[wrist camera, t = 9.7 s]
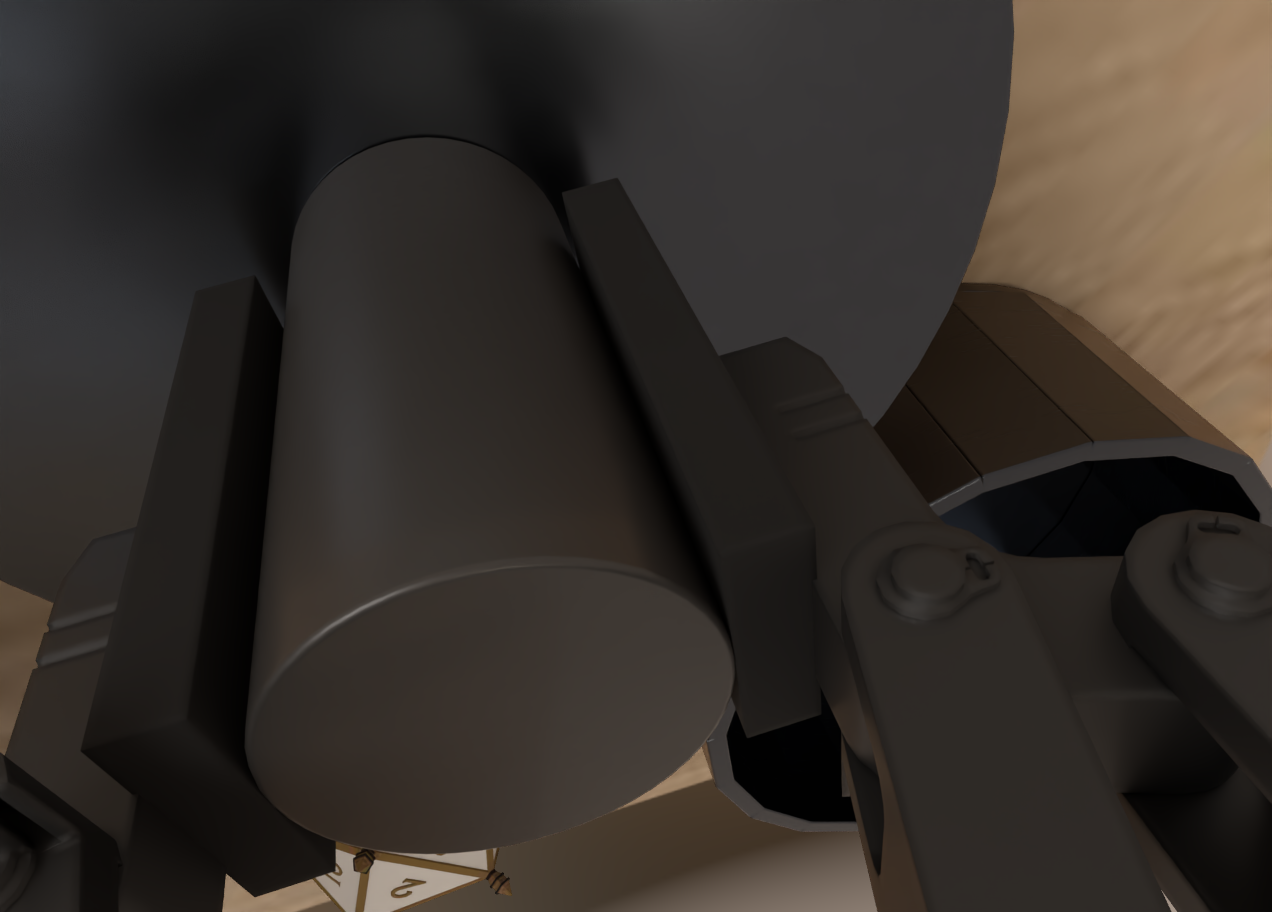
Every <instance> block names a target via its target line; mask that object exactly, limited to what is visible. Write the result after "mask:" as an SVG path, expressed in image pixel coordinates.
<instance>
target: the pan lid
mask: <svg viewBox="0 0 1272 912" xmlns="http://www.w3.org/2000/svg"><path fill="white" fill-rule="evenodd" d="M1013 40H1014V22H1013V3H1012V0H0V580H2V581H4V582H5V583H7V584H9V585H12V586H14V587H17V588H19V589H21V590H24V591H26V592H29V593H31V594H33V595H36V596H38V597H41V598H43V599H45V600H48V601H50V602H53V603H54V601H55V598H56V595H57V592H58V589H59V586H60V583H61V581H62V580H63V578H64V577H65V576H66V574H67V573H68V572H69V570H70V569H71V568H72V566H73V565H74V564H75V562H76V561H77V560H78V558H79V557H80V555H81V554H82V553H83V551H84V550H85V549H86V547H87V546H88V545H89V543H90V542H91V541H92V539H95V538H99V537H102V536H106V535H109V534H113V533H116V532H120V531H123V530H127V529H130V528H134V527H137V523H138V519H139V515H140V511H141V507H142V503H143V499H144V495H145V491H146V487H147V483H148V479H149V475H150V471H151V467H152V463H153V459H154V455H155V451H156V447H157V443H158V439H159V435H160V431H161V427H162V423H163V419H164V415H165V411H166V407H167V403H168V399H169V395H170V391H171V387H172V383H173V379H174V375H175V371H176V367H177V363H178V359H179V355H180V351H181V347H182V343H183V339H184V335H185V331H186V327H187V323H188V319H189V315H190V311H191V307H192V303H193V299H194V295H195V291H198V290H202V289H205V288H209V287H213V286H216V285H220V284H224V283H228V282H231V281H235V280H239V279H242V278H246V277H250V276H254V275H255V276H256V278H257V280H258V281H259V283H260V285H261V287H262V289H263V291H264V293H265V295H266V297H267V299H268V300H269V302H270V304H271V306H272V308H273V310H274V312H275V314H276V316H277V317H278V319H279V321H280V323H281V325H282V327H283V329H284V330H283V341H282V351H281V361H280V372H279V382H278V393H277V403H276V413H275V424H274V434H273V444H272V455H271V465H270V475H269V486H268V496H267V507H266V517H265V527H264V538H263V548H262V558H261V569H260V579H259V589H258V600H257V610H256V621H255V631H254V641H253V652H252V662H251V672H250V683H249V693H248V704H247V714H246V724H245V745H244V748H245V752H246V757H247V762H248V767H249V769H250V771H251V773H252V775H253V777H254V779H255V781H256V783H257V786H258V788H259V789H260V791H261V792H262V793H263V794H264V796H265V797H266V798H267V799H268V801H269V802H270V803H271V804H272V805H273V806H274V807H275V808H276V809H277V810H279V811H280V812H281V813H282V814H283V815H284V816H286V817H287V818H288V819H290V820H292V821H293V822H295V823H296V824H298V825H300V826H301V827H303V828H305V829H307V830H309V831H311V832H313V833H316V834H318V835H320V836H323V837H325V838H327V839H331V840H334V841H337V842H340V843H344V844H347V845H350V846H355V847H360V848H365V849H370V850H376V851H384V852H393V853H405V854H451V853H463V852H473V851H482V850H488V849H494V848H500V847H506V846H511V845H515V844H520V843H524V842H529V841H533V840H536V839H540V838H544V837H547V836H550V835H554V834H557V833H560V832H563V831H566V830H569V829H572V828H574V827H577V826H580V825H583V824H585V823H588V822H590V821H592V820H595V819H597V818H599V817H601V816H604V815H606V814H608V813H610V812H612V811H614V810H616V809H618V808H620V807H622V806H624V805H626V804H628V803H630V802H632V801H633V800H635V799H637V798H638V797H640V796H641V795H643V794H645V793H646V792H648V791H650V790H651V789H653V788H654V787H656V786H657V785H658V784H660V783H661V782H662V781H664V780H665V779H667V778H668V777H669V776H671V775H672V774H673V773H674V772H676V771H677V770H678V769H679V768H680V767H681V766H682V765H684V764H685V763H686V762H687V761H688V760H689V759H690V758H691V757H692V756H693V755H694V754H695V753H696V752H697V751H698V750H699V749H700V748H701V747H702V746H703V744H704V743H705V742H706V741H707V739H708V738H709V737H710V735H711V734H712V733H713V731H714V730H715V729H716V727H717V725H718V723H719V722H720V720H721V718H722V716H723V715H724V713H725V711H726V708H727V706H728V703H729V700H730V698H731V695H732V691H733V685H734V679H735V656H734V650H733V645H732V640H731V637H730V634H729V631H728V629H727V626H726V624H725V622H724V619H723V617H722V614H721V612H720V609H719V607H718V605H717V602H716V600H715V597H714V595H713V592H712V590H711V588H710V585H709V583H708V580H707V578H706V575H705V573H704V571H703V568H702V566H701V563H700V561H699V558H698V556H697V554H696V551H695V549H694V546H693V544H692V541H691V539H690V537H689V534H688V532H687V529H686V527H685V524H684V522H683V520H682V517H681V515H680V512H679V510H678V507H677V505H676V503H675V500H674V498H673V495H672V493H671V490H670V488H669V486H668V483H667V481H666V478H665V476H664V473H663V471H662V469H661V466H660V464H659V461H658V459H657V456H656V454H655V452H654V449H653V447H652V444H651V442H650V439H649V437H648V435H647V432H646V430H645V427H644V425H643V422H642V420H641V418H640V415H639V413H638V410H637V408H636V405H635V403H634V401H633V398H632V396H631V393H630V391H629V388H628V386H627V384H626V381H625V379H624V376H623V374H622V371H621V369H620V367H619V364H618V362H617V359H616V357H615V354H614V352H613V350H612V347H611V345H610V342H609V340H608V337H607V335H606V333H605V330H604V328H603V325H602V323H601V320H600V318H599V315H598V313H597V311H596V308H595V306H594V303H593V301H592V298H591V296H590V294H589V291H588V289H587V286H586V284H585V281H584V279H583V277H582V274H581V272H580V269H579V264H578V260H577V256H576V252H575V247H574V243H573V239H572V235H571V230H570V226H569V222H568V218H567V213H566V209H565V205H564V201H563V196H562V192H565V191H569V190H572V189H576V188H580V187H584V186H587V185H591V184H595V183H598V182H602V181H606V180H610V179H613V178H617V177H618V179H619V181H620V183H621V184H622V186H623V188H624V190H625V192H626V193H627V195H628V197H629V199H630V200H631V202H632V204H633V206H634V207H635V209H636V211H637V213H638V214H639V216H640V218H641V220H642V221H643V223H644V225H645V227H646V229H647V230H648V232H649V234H650V236H651V237H652V239H653V241H654V243H655V244H656V246H657V248H658V250H659V251H660V253H661V255H662V257H663V259H664V260H665V262H666V264H667V266H668V267H669V269H670V271H671V273H672V274H673V276H674V278H675V280H676V281H677V283H678V285H679V287H680V288H681V290H682V292H683V294H684V296H685V297H686V299H687V301H688V303H689V304H690V306H691V308H692V310H693V311H694V313H695V315H696V317H697V318H698V320H699V322H700V324H701V325H702V327H703V329H704V331H705V333H706V334H707V336H708V338H709V340H710V341H711V343H712V345H713V347H714V348H715V350H716V352H717V354H718V355H719V356H720V355H723V354H727V353H730V352H734V351H737V350H741V349H744V348H748V347H751V346H754V345H758V344H761V343H765V342H768V341H772V340H775V339H779V338H782V337H788V338H789V339H791V340H793V341H795V342H796V343H798V344H800V345H802V346H803V347H805V348H807V349H809V350H810V351H812V352H814V353H816V354H817V355H819V356H821V357H822V358H823V359H824V360H825V362H826V363H827V365H828V366H829V367H830V369H831V370H832V371H833V373H834V374H835V376H836V377H837V378H838V380H839V381H840V383H841V384H842V385H843V387H844V391H845V393H846V394H847V393H848V394H849V395H850V396H851V398H852V399H853V400H854V402H855V403H856V405H857V406H858V407H859V409H860V410H861V412H862V416H863V418H864V419H866V418H867V420H868V421H869V423H870V424H871V425H872V427H874V426H875V425H876V424H877V422H878V421H879V420H880V419H881V418H882V417H883V415H884V414H885V413H886V411H887V410H888V408H889V407H890V405H891V404H892V403H893V401H894V400H895V398H896V397H897V395H898V394H899V393H900V391H901V390H902V388H903V387H904V385H905V384H906V383H907V381H908V380H909V378H910V377H911V375H912V374H913V373H914V371H915V370H916V368H917V367H918V365H919V363H920V362H921V360H922V358H923V356H924V355H925V353H926V351H927V349H928V347H929V346H930V344H931V342H932V340H933V338H934V337H935V335H936V333H937V331H938V330H939V328H940V326H941V324H942V322H943V321H944V319H945V317H946V315H947V313H948V312H949V309H950V307H951V305H952V302H953V300H954V298H955V295H956V293H957V291H958V288H959V286H960V284H961V281H962V279H963V277H964V274H965V272H966V270H967V267H968V265H969V263H970V261H971V258H972V256H973V254H974V251H975V248H976V245H977V241H978V238H979V235H980V232H981V228H982V225H983V222H984V219H985V215H986V212H987V209H988V206H989V202H990V199H991V196H992V193H993V189H994V186H995V182H996V176H997V171H998V166H999V160H1000V155H1001V150H1002V144H1003V139H1004V134H1005V128H1006V123H1007V118H1008V112H1009V99H1010V84H1011V70H1012V55H1013Z"/></svg>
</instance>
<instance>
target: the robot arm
mask: <svg viewBox="0 0 1272 912" xmlns="http://www.w3.org/2000/svg"><path fill="white" fill-rule="evenodd" d="M562 196H563V201H564V205H565V209H566V213H567V218H568V222H569V226H570V230H571V235H572V239H573V243H574V247H575V252H576V256H577V260H578V264H579V269H580V272H581V274H582V277H583V279H584V281H585V284H586V286H587V289H588V291H589V294H590V296H591V298H592V301H593V303H594V306H595V308H596V311H597V313H598V315H599V318H600V320H601V323H602V325H603V328H604V330H605V333H606V335H607V337H608V340H609V342H610V345H611V347H612V350H613V352H614V354H615V357H616V359H617V362H618V364H619V367H620V369H621V371H622V374H623V376H624V379H625V381H626V384H627V386H628V388H629V391H630V393H631V396H632V398H633V401H634V403H635V405H636V408H637V410H638V413H639V415H640V418H641V420H642V422H643V425H644V427H645V430H646V432H647V435H648V437H649V439H650V442H651V444H652V447H653V449H654V452H655V454H656V456H657V459H658V461H659V464H660V466H661V469H662V471H663V473H664V476H665V478H666V481H667V483H668V486H669V488H670V490H671V493H672V495H673V498H674V500H675V503H676V505H677V507H678V510H679V512H680V515H681V517H682V520H683V522H684V524H685V527H686V529H687V532H688V534H689V537H690V539H691V541H692V544H693V546H694V549H695V551H696V554H697V556H698V558H699V561H700V563H701V566H702V568H703V571H704V573H705V575H706V578H707V580H708V583H709V585H710V588H711V590H712V592H713V595H714V597H715V600H716V602H717V605H718V607H719V609H720V612H721V614H722V617H723V619H724V622H725V624H726V626H727V629H728V631H729V634H730V637H731V640H732V645H733V650H734V656H735V679H734V685H733V691H732V695H731V698H732V700H733V703H734V706H735V708H736V711H737V713H738V716H739V719H740V721H741V724H742V726H743V729H744V732H745V734H746V737H747V738H750V737H753V736H756V735H759V734H762V733H765V732H768V731H771V730H774V729H778V728H781V727H784V726H787V725H790V724H793V723H796V722H799V721H802V720H805V719H809V718H812V717H815V716H818V715H821V689H822V691H823V693H824V695H825V698H826V700H827V702H828V704H829V706H830V708H831V710H832V712H833V714H834V716H835V718H836V720H837V723H838V725H839V727H840V729H841V746H842V797H849V796H851V800H852V804H853V809H854V813H855V817H856V821H857V826H858V830H859V834H860V838H861V843H862V847H863V851H864V855H865V860H866V864H867V868H868V873H869V877H870V881H871V886H872V890H873V894H874V898H875V903H876V907H877V911H878V912H1171V910H1170V908H1169V906H1168V903H1167V901H1166V899H1165V897H1164V895H1163V893H1164V894H1165V895H1166V897H1167V898H1168V899H1169V901H1170V902H1171V904H1172V905H1173V906H1174V908H1175V909H1176V910H1177V912H1272V527H1271V526H1268V525H1265V524H1262V523H1259V522H1256V521H1253V520H1250V519H1247V518H1244V517H1241V516H1239V515H1236V514H1233V513H1223V512H1213V511H1203V510H1189V511H1183V512H1177V513H1172V514H1166V515H1161V516H1159V517H1158V518H1156V519H1154V520H1153V521H1151V522H1149V523H1147V524H1146V525H1144V526H1142V527H1141V528H1139V529H1137V531H1136V533H1135V534H1134V536H1133V538H1132V540H1131V542H1130V543H1129V545H1128V547H1127V549H1126V551H1125V553H1124V556H1100V557H1060V558H1039V557H1023V556H1015V555H1011V554H1006V553H1002V552H998V551H997V550H996V548H994V547H993V546H991V545H990V544H988V543H987V542H985V541H983V540H982V539H980V538H979V537H977V536H976V535H974V534H973V533H971V532H970V531H968V530H964V529H961V528H957V527H954V526H950V525H947V524H945V523H944V522H943V521H942V520H941V519H940V518H939V516H938V515H937V514H936V513H935V512H934V511H933V510H932V508H931V507H930V506H929V504H928V503H927V501H926V500H925V499H924V497H923V496H922V495H921V493H920V492H919V490H918V489H917V488H916V486H915V485H914V483H913V482H912V481H911V479H910V478H909V477H908V475H907V474H906V472H905V471H904V470H903V468H902V467H901V465H900V464H899V463H898V461H897V460H896V459H895V457H894V456H893V454H892V453H891V452H890V450H889V449H888V448H887V446H886V445H885V443H884V442H883V441H882V439H881V438H880V436H879V435H878V434H877V432H876V431H875V430H874V428H873V427H872V425H871V424H870V423H869V421H868V420H867V418H866V419H864V418H863V416H862V412H861V410H860V409H859V407H858V406H857V405H856V403H855V402H854V400H853V399H852V398H851V396H850V395H849V394H848V393H847V394H846V393H845V391H844V387H843V385H842V384H841V383H840V381H839V380H838V378H837V377H836V376H835V374H834V373H833V371H832V370H831V369H830V367H829V366H828V365H827V363H826V362H825V360H824V359H823V358H822V357H821V356H819V355H817V354H816V353H814V352H812V351H810V350H809V349H807V348H805V347H803V346H802V345H800V344H798V343H796V342H795V341H793V340H791V339H789V338H788V337H782V338H779V339H775V340H772V341H768V342H765V343H761V344H758V345H754V346H751V347H748V348H744V349H741V350H737V351H734V352H730V353H727V354H723V355H720V356H719V355H718V354H717V352H716V350H715V348H714V347H713V345H712V343H711V341H710V340H709V338H708V336H707V334H706V333H705V331H704V329H703V327H702V325H701V324H700V322H699V320H698V318H697V317H696V315H695V313H694V311H693V310H692V308H691V306H690V304H689V303H688V301H687V299H686V297H685V296H684V294H683V292H682V290H681V288H680V287H679V285H678V283H677V281H676V280H675V278H674V276H673V274H672V273H671V271H670V269H669V267H668V266H667V264H666V262H665V260H664V259H663V257H662V255H661V253H660V251H659V250H658V248H657V246H656V244H655V243H654V241H653V239H652V237H651V236H650V234H649V232H648V230H647V229H646V227H645V225H644V223H643V221H642V220H641V218H640V216H639V214H638V213H637V211H636V209H635V207H634V206H633V204H632V202H631V200H630V199H629V197H628V195H627V193H626V192H625V190H624V188H623V186H622V184H621V183H620V181H619V179H618V177H617V178H613V179H610V180H606V181H602V182H598V183H595V184H591V185H587V186H584V187H580V188H576V189H572V190H569V191H565V192H562ZM283 330H284V329H283V327H282V325H281V323H280V321H279V319H278V317H277V316H276V314H275V312H274V310H273V308H272V306H271V304H270V302H269V300H268V299H267V297H266V295H265V293H264V291H263V289H262V287H261V285H260V283H259V281H258V280H257V278H256V276H255V275H254V276H250V277H246V278H242V279H239V280H235V281H231V282H228V283H224V284H220V285H216V286H213V287H209V288H205V289H202V290H198V291H195V295H194V299H193V303H192V307H191V311H190V315H189V319H188V323H187V327H186V331H185V335H184V339H183V343H182V347H181V351H180V355H179V359H178V363H177V367H176V371H175V375H174V379H173V383H172V387H171V391H170V395H169V399H168V403H167V407H166V411H165V415H164V419H163V423H162V427H161V431H160V435H159V439H158V443H157V447H156V451H155V455H154V459H153V463H152V467H151V471H150V475H149V479H148V483H147V487H146V491H145V495H144V499H143V503H142V507H141V511H140V515H139V519H138V523H137V527H134V528H130V529H127V530H123V531H120V532H116V533H113V534H109V535H106V536H102V537H99V538H95V539H92V541H91V542H90V543H89V545H88V546H87V547H86V549H85V550H84V551H83V553H82V554H81V555H80V557H79V558H78V560H77V561H76V562H75V564H74V565H73V566H72V568H71V569H70V570H69V572H68V573H67V574H66V576H65V577H64V578H63V580H62V581H61V583H60V586H59V589H58V592H57V595H56V598H55V601H54V605H53V608H52V611H51V614H50V617H49V620H48V623H47V625H48V627H49V632H47V633H44V636H43V639H42V642H41V645H40V648H39V651H38V654H37V658H36V662H37V664H38V668H36V669H33V670H32V673H31V676H30V679H29V683H28V686H27V689H26V692H25V695H24V698H23V701H22V704H21V707H20V711H19V714H18V717H17V720H16V723H15V726H14V729H13V732H12V735H11V739H10V742H9V745H8V748H7V751H6V754H5V756H4V755H3V754H2V753H0V912H222V908H223V898H224V888H225V878H226V874H228V875H229V876H230V877H231V878H232V879H233V880H235V881H236V882H237V883H238V884H239V885H241V886H242V887H243V888H244V889H245V890H247V891H248V892H249V893H250V894H251V895H253V896H254V897H257V896H260V895H263V894H267V893H270V892H273V891H276V890H279V889H282V888H285V887H288V886H291V885H294V884H298V883H301V882H304V881H307V880H310V879H313V878H316V877H319V876H322V875H325V874H328V873H332V872H335V871H336V841H334V840H331V839H327V838H325V837H323V836H320V835H318V834H316V833H313V832H311V831H309V830H307V829H305V828H303V827H301V826H300V825H298V824H296V823H295V822H293V821H292V820H290V819H288V818H287V817H286V816H284V815H283V814H282V813H281V812H280V811H279V810H277V809H276V808H275V807H274V806H273V805H272V804H271V803H270V802H269V801H268V799H267V798H266V797H265V796H264V794H263V793H262V792H261V791H260V789H259V788H258V786H257V783H256V781H255V779H254V777H253V775H252V773H251V771H250V769H249V767H248V762H247V757H246V752H245V748H244V745H245V724H246V714H247V704H248V693H249V683H250V672H251V662H252V652H253V641H254V631H255V621H256V610H257V600H258V589H259V579H260V569H261V558H262V548H263V538H264V527H265V517H266V507H267V496H268V486H269V475H270V465H271V455H272V444H273V434H274V424H275V413H276V403H277V393H278V382H279V372H280V361H281V351H282V341H283ZM1161 890H1162V891H1163V893H1162V891H1161Z"/></svg>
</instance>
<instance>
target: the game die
mask: <svg viewBox="0 0 1272 912" xmlns="http://www.w3.org/2000/svg"><path fill="white" fill-rule="evenodd" d="M498 851H499V848H494V849H488V850H482V851H473V852H463V853H451V854H405V853H393V852H384V851H376V850H370V849H365V848H360V847H355V846H350V845H347V844H344V843H340V842H337V841H336V871H335V872H332V873H328V874H325V875H322V876H319V877H316V878H313V880H314V881H315V882H316V883H317V885H318V886H319V887H320V888H321V889H322V890H323V891H324V892H325V893H326V895H327V896H328V897H329V898H330V899H331V900H332V901H333V902H334V903H335V905H336V906H337V907H338V908H339V909H340V910H341V911H342V912H401V911H404V910H406V909H409V908H411V907H414V906H417V905H419V904H422V903H425V902H427V901H430V900H432V899H435V898H437V897H440V896H443V895H445V894H448V893H451V892H453V891H456V890H459V889H461V888H464V887H466V886H469V885H472V884H474V883H477V882H479V881H482V880H485V879H487V880H488V881H489V883H490V885H491V886H490V888H493V889H494V890H495V891H496V892H495V894H505V895H510V896H512V893H511V889H510V884H509V879H510V878H506V877H505V876H504V873H499V872H497V871H495V869H494V868H495V864H496V859H497V856H498Z"/></svg>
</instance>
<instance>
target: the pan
mask: <svg viewBox="0 0 1272 912" xmlns="http://www.w3.org/2000/svg"><path fill="white" fill-rule="evenodd" d="M873 428H874V430H875V431H876V432H877V434H878V435H879V436H880V438H881V439H882V441H883V442H884V443H885V445H886V446H887V448H888V449H889V450H890V452H891V453H892V454H893V456H894V457H895V459H896V460H897V461H898V463H899V464H900V465H901V467H902V468H903V470H904V471H905V472H906V474H907V475H908V477H909V478H910V479H911V481H912V482H913V483H914V485H915V486H916V488H917V489H918V490H919V492H920V493H921V495H922V496H923V497H924V499H925V500H926V501H927V503H928V504H929V506H930V507H931V508H932V510H933V511H934V512H935V513H936V514H937V515H938V516H939V518H940V519H941V520H942V521H943V522H944V523H945V524H947V525H950V526H954V527H957V528H961V529H964V530H968V531H970V532H971V533H973V534H974V535H976V536H977V537H979V538H980V539H982V540H983V541H985V542H987V543H988V544H990V545H991V546H993V547H994V548H996V550H997V551H998V552H1002V553H1006V554H1011V555H1015V556H1023V557H1039V558H1060V557H1100V556H1124V553H1125V551H1126V549H1127V547H1128V545H1129V543H1130V542H1131V540H1132V538H1133V536H1134V534H1135V533H1136V531H1137V529H1139V528H1141V527H1142V526H1144V525H1146V524H1147V523H1149V522H1151V521H1153V520H1154V519H1156V518H1158V517H1159V516H1161V515H1166V514H1172V513H1177V512H1183V511H1189V510H1203V511H1213V512H1223V513H1233V514H1236V515H1239V516H1241V517H1244V518H1247V519H1250V520H1253V521H1256V522H1259V523H1262V524H1265V525H1268V526H1271V527H1272V488H1271V486H1270V485H1269V483H1268V482H1267V480H1266V479H1265V477H1264V476H1263V474H1262V473H1261V471H1260V470H1259V468H1258V467H1257V465H1256V464H1255V462H1254V461H1253V459H1252V458H1251V457H1250V456H1248V455H1247V454H1246V453H1245V452H1244V451H1242V450H1241V449H1240V448H1239V447H1238V446H1236V445H1235V444H1234V443H1233V442H1232V441H1230V440H1229V439H1228V438H1227V437H1226V436H1224V435H1223V434H1222V433H1221V432H1220V431H1218V430H1217V429H1216V428H1215V427H1214V426H1212V425H1211V424H1210V423H1209V422H1208V421H1206V420H1205V419H1204V418H1203V417H1202V416H1200V415H1199V414H1198V413H1197V412H1196V411H1194V410H1193V409H1192V408H1191V407H1190V406H1188V405H1187V404H1186V403H1185V402H1184V401H1182V400H1181V399H1180V398H1179V397H1178V396H1176V395H1175V394H1174V393H1173V392H1172V391H1170V390H1169V389H1168V388H1167V387H1166V386H1164V385H1163V384H1162V383H1161V382H1160V381H1158V380H1157V379H1156V378H1155V377H1154V376H1152V375H1151V374H1150V373H1149V372H1148V371H1146V370H1145V369H1144V368H1143V367H1142V366H1140V365H1139V364H1138V363H1137V362H1136V361H1134V360H1133V359H1132V358H1131V357H1130V356H1128V355H1127V354H1126V353H1125V352H1124V351H1122V350H1121V349H1120V348H1119V347H1118V346H1116V345H1115V344H1114V343H1113V342H1112V341H1110V340H1109V339H1108V338H1107V337H1106V336H1104V335H1103V334H1102V333H1101V332H1100V331H1098V330H1097V329H1096V328H1095V327H1094V326H1092V325H1091V324H1090V323H1089V322H1088V321H1086V320H1085V319H1084V318H1083V317H1081V316H1079V315H1077V314H1074V313H1072V312H1070V311H1068V310H1067V309H1065V308H1063V307H1062V306H1060V305H1058V304H1057V303H1055V302H1053V301H1052V300H1050V299H1048V298H1045V297H1043V296H1040V295H1037V294H1034V293H1031V292H1029V291H1026V290H1023V289H1017V288H1011V287H1006V286H1000V285H994V284H960V286H959V288H958V291H957V293H956V295H955V298H954V300H953V302H952V305H951V307H950V309H949V312H948V313H947V315H946V317H945V319H944V321H943V322H942V324H941V326H940V328H939V330H938V331H937V333H936V335H935V337H934V338H933V340H932V342H931V344H930V346H929V347H928V349H927V351H926V353H925V355H924V356H923V358H922V360H921V362H920V363H919V365H918V367H917V368H916V370H915V371H914V373H913V374H912V375H911V377H910V378H909V380H908V381H907V383H906V384H905V385H904V387H903V388H902V390H901V391H900V393H899V394H898V395H897V397H896V398H895V400H894V401H893V403H892V404H891V405H890V407H889V408H888V410H887V411H886V413H885V414H884V415H883V417H882V418H881V419H880V420H879V421H878V422H877V424H876V425H875V426H874V427H873ZM702 749H703V752H704V755H705V757H706V760H707V763H708V766H709V769H710V772H711V775H712V778H713V781H714V783H715V786H716V787H717V788H718V789H719V790H720V791H721V792H722V793H723V794H724V795H726V796H727V797H728V798H729V799H730V800H731V801H732V802H734V804H736V805H737V806H738V807H739V808H740V809H741V810H742V811H744V812H745V813H746V814H747V815H748V816H749V817H751V818H753V819H757V820H761V821H764V822H768V823H771V824H775V825H779V826H782V827H786V828H789V829H793V830H796V831H801V832H815V831H817V832H822V831H823V832H825V831H859V830H858V826H857V821H856V817H855V813H854V809H853V804H852V800H851V796H849V797H842V746H841V729H840V727H839V725H838V723H837V720H836V718H835V716H834V714H833V712H832V710H831V708H830V706H829V704H828V702H827V700H826V698H825V695H824V693H823V691H822V689H821V715H818V716H815V717H812V718H809V719H805V720H802V721H799V722H796V723H793V724H790V725H787V726H784V727H781V728H778V729H774V730H771V731H768V732H765V733H762V734H759V735H756V736H753V737H750V738H747V737H746V734H745V732H744V729H743V726H742V724H741V721H740V719H739V716H738V713H737V711H736V708H735V706H734V703H733V700H732V698H730V700H729V703H728V706H727V708H726V711H725V713H724V715H723V716H722V718H721V720H720V722H719V723H718V725H717V727H716V729H715V730H714V731H713V733H712V734H711V735H710V737H709V738H708V739H707V741H706V742H705V743H704V744H703V746H702Z"/></svg>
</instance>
